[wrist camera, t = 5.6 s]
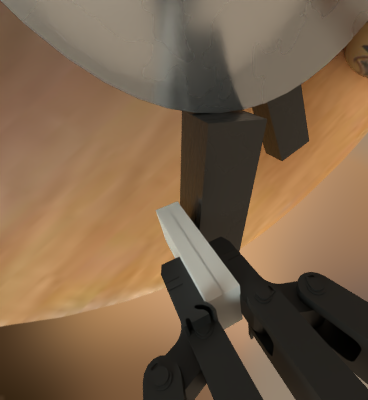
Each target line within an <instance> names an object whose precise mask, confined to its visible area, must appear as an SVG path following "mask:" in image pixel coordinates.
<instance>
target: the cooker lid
mask: <svg viewBox="0 0 368 400" xmlns="http://www.w3.org/2000/svg"><path fill="white" fill-rule="evenodd" d="M0 1H1V2H2V3H4V4H5V5H6V6H7V7H8V8H9V9H10V10H11V11H12V12H13V13H14V14H15V15H16V16H17V17H18V18H19V19H20V20H21V21H22V22H23V23H24V24H25V25H26V26H28V27H29V28H30V29H31V30H33V31H34V32H35V33H36V34H38V35H39V36H40V37H41V38H43V39H44V40H45V41H46V42H48V43H49V44H50V45H51V46H53V47H54V48H55V49H56V50H58V51H59V52H60V53H61V54H62V55H64V56H65V57H66V58H67V59H69V60H71V61H72V62H74V63H75V64H77V65H78V66H80V67H81V68H83V69H85V70H86V71H88V72H89V73H91V74H92V75H94V76H95V77H97V78H99V79H100V80H102V81H103V82H105V83H107V84H109V85H111V86H113V87H115V88H117V89H119V90H121V91H123V92H125V93H127V94H130V95H132V96H134V97H136V98H138V99H141V100H144V101H147V102H150V103H153V104H156V105H159V106H162V107H165V108H170V109H175V110H181V111H182V140H181V188H180V206H181V207H182V208H183V210H184V211H185V212H186V214H187V215H188V216H189V218H190V219H191V220H192V222H193V223H194V224H195V226H196V227H197V228H198V230H199V231H200V233H201V234H202V235H203V237H204V238H205V239H206V241H207V242H210V241H212V240H214V239H216V238H219V237H223V238H225V239H227V240H229V241H230V242H231V243H232V244H233V245H234V247H235V248H236V249H237V250H238V251H239V250H240V246H241V241H242V236H243V231H244V227H245V222H246V217H247V213H248V208H249V203H250V198H251V194H252V189H253V184H254V179H255V175H256V170H257V165H258V161H259V156H260V151H261V146H262V142H263V137H264V132H265V128H266V123H267V119H266V118H263V117H260V116H257V115H254V114H251V113H248V112H245V111H242V110H244V109H247V108H250V107H254V106H257V105H260V104H264V103H266V102H269V101H271V100H273V99H275V98H277V97H279V96H282V95H284V94H286V93H288V92H289V91H291V90H292V89H294V88H296V87H297V86H299V85H300V84H302V83H304V82H305V81H307V80H308V79H309V78H311V77H312V76H313V75H314V74H316V73H317V72H318V71H319V70H321V69H322V68H323V67H324V66H326V65H327V64H328V63H329V62H330V61H331V60H332V59H333V58H334V57H335V56H336V55H337V54H338V53H339V52H340V51H341V50H342V49H343V48H344V47H345V46H346V45H347V44H348V43H349V42H350V41H351V40H352V38H353V37H354V36H355V35H356V34H357V33H358V31H359V30H360V29H361V28H362V27H363V26H364V24H365V23H366V22H367V21H368V0H0Z"/></svg>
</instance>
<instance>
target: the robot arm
mask: <svg viewBox="0 0 368 400" xmlns="http://www.w3.org/2000/svg"><path fill="white" fill-rule="evenodd" d="M156 212H157V215H158V218H159V221H160V224H161V227H162V230H163V233H164V236H165V239H166V242H167V244H168V245H169V247H170V249H171V251H172V253H173V255H174V257H175V259H173V260H171V261H169V262H167V263H165V264H163V265H162V268H161V276H162V278H163V280H164V283H165V285H166V288H167V290H168V292H169V295H170V297H171V299H172V302H173V304H174V306H175V309H176V311H177V314H178V316H179V318H180V321H181V329H182V330H181V334H180V337H179V339H178V341H177V342H176V344H175V345H174V346H173V347H172V348H171V350H170V351H169V352H168V353H167V354H166V355H165V356H159V357H157V358H155V359H153V360H152V361H151V362H150V364H149V365H148V366H147V368H146V371H145V373H144V378H143V400H195V398H196V397H197V395H198V394H199V393H200V391H201V390H202V389H203V387H204V386H205V385H206V383H207V385H208V387H209V390H210V392H211V394H212V397H213V399H214V400H263V398H262V397H261V395H260V393H259V391H258V390H257V388H256V386H255V384H254V382H253V381H252V379H251V377H250V375H249V374H248V372H247V370H246V368H245V367H244V365H243V363H242V361H241V359H240V358H239V356H238V354H237V352H236V351H235V349H234V347H233V345H232V344H231V342H230V340H229V338H228V337H227V335H226V333H225V331H224V329H226V328H228V327H229V326H231V325H233V324H234V323H236V322H238V321H240V320H242V314H243V316H244V317H245V319H246V320H247V322H248V325H249V335H250V338H251V339H252V338H253V336H254V337H255V339H256V340H257V342H258V343H259V345H260V346H261V348H262V349H263V351H264V352H265V354H266V355H267V357H268V358H269V360H270V361H271V363H272V364H273V366H274V368H275V369H276V370H277V372H278V374H279V375H280V377H281V378H282V379H283V381H284V383H285V384H286V385H287V387H288V389H289V390H290V392H291V393H292V395H293V396H294V398H295V399H296V400H368V389H367V387H366V386H365V385H364V384H363V383H362V382H361V381H360V380H359V378H358V377H360V378H361V379H362V380H363V381H364V382H366V383H367V384H368V302H367V301H365V300H363V299H361V298H360V297H358V296H357V295H355V294H353V293H352V292H350V291H348V290H347V289H345V288H343V287H342V286H340V285H338V284H337V283H335V282H334V281H332V280H330V279H328V278H327V277H325V276H323V275H321V274H318V273H314V272H308V273H304V274H302V275H301V276H300V277H299V279H298V281H296V282H290V283H284V284H275V283H271V282H268V281H266V280H264V279H263V278H262V277H261V276H260V275H259V274H258V273H257V272H256V271H255V270H254V269H253V268H252V266H251V265H250V264H249V263H248V262H247V260H246V259H245V258H244V257H243V256H242V255H241V254H240V252H239V251H238V250H237V249H236V248H235V247H234V245H233V244H232V243H231V242H230V241H229V240H227V239H225V238H223V237H219V238H216V239H214V240H212V241H210V242H207V241H206V239H205V238H204V237H203V235H202V234H201V233H200V231H199V230H198V228H197V227H196V226H195V224H194V223H193V222H192V220H191V219H190V218H189V216H188V215H187V214H186V212H185V211H184V210H183V208H182V207H181V206H180V204H179V203H178V202H175V203H172V204H170V205H167V206H165V207H163V208H160V209H158V210H156ZM354 373H355V374H356V375H357V376H358V377H357V376H356V375H355V374H354Z"/></svg>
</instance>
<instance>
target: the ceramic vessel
mask: <svg viewBox="0 0 368 400" xmlns="http://www.w3.org/2000/svg"><path fill="white" fill-rule="evenodd" d="M344 55H345V59H346V61H347V63H348V65H349V66H350V68H351V69H352V70H353V71H355V72H356V73H358V74H359V75H361V76H363V77H366V78H368V21H367V22H366V23H365V24H364V26H363V27H362V28H361V29H360V30H359V31H358V33H357V34H356V35H355V36H354V37H353V38H352V40H351V41H350V42H349V43H348V44H347V45H346V46H345V47H344Z"/></svg>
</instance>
